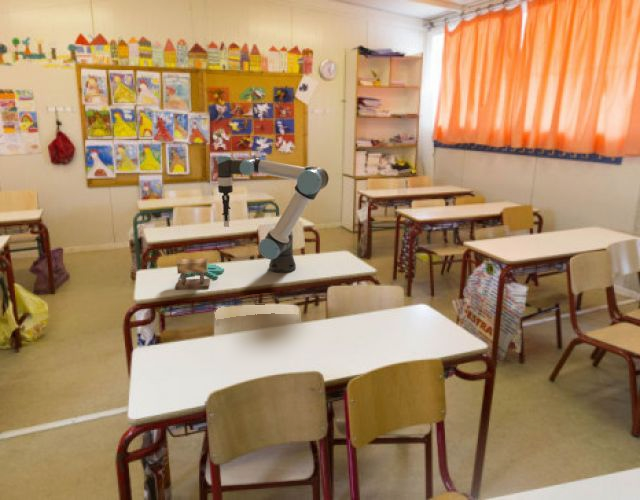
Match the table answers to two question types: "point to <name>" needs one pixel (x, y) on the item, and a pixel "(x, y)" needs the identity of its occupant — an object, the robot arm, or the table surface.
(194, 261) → the light brown wooden block
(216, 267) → the alien figure
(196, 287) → the peg stand
